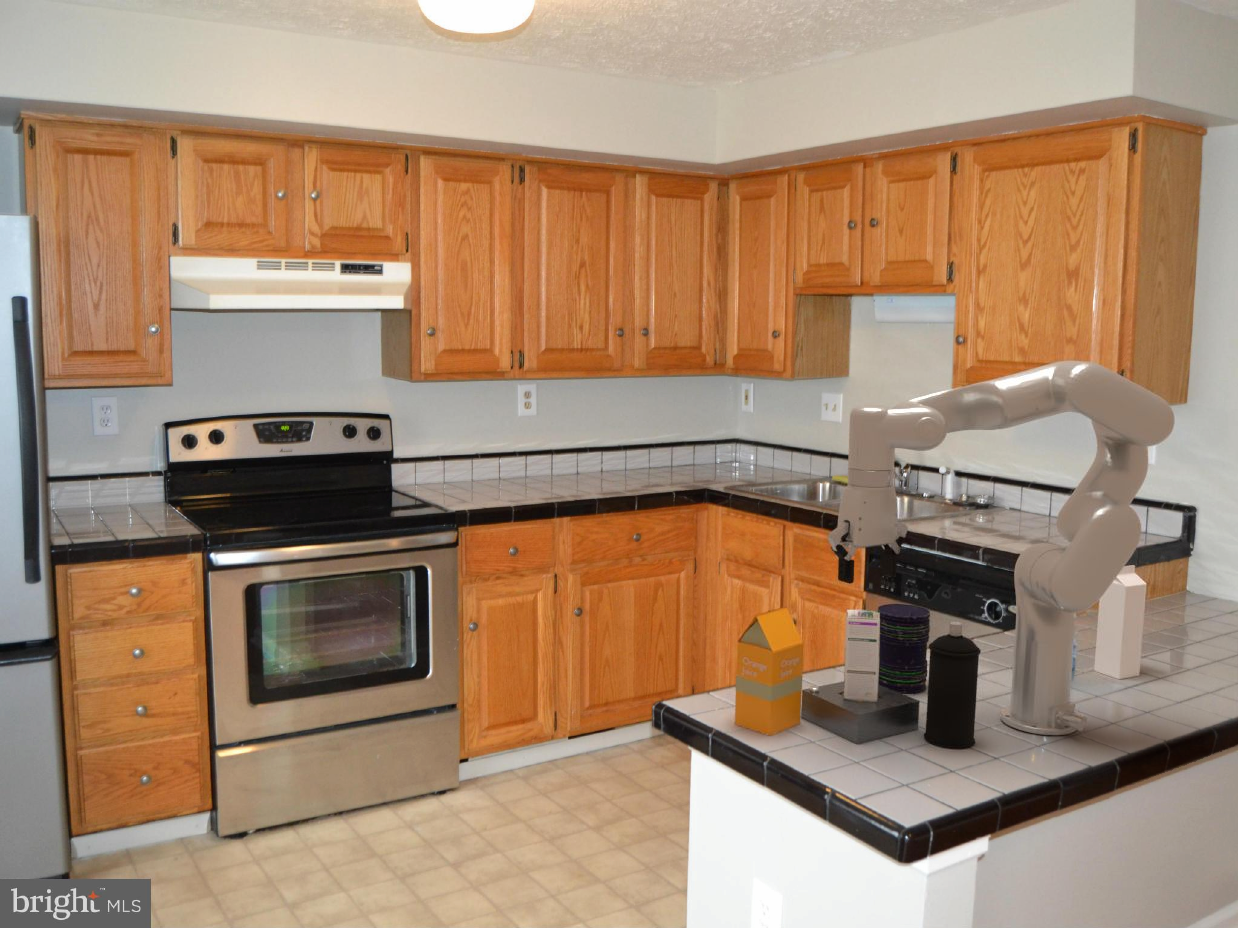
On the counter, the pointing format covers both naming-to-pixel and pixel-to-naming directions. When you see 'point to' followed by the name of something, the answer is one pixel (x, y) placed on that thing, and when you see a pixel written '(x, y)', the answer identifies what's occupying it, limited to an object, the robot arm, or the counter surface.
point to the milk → (1121, 626)
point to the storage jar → (903, 647)
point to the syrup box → (862, 655)
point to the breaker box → (859, 713)
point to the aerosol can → (952, 690)
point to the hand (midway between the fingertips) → (867, 578)
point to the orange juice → (769, 673)
